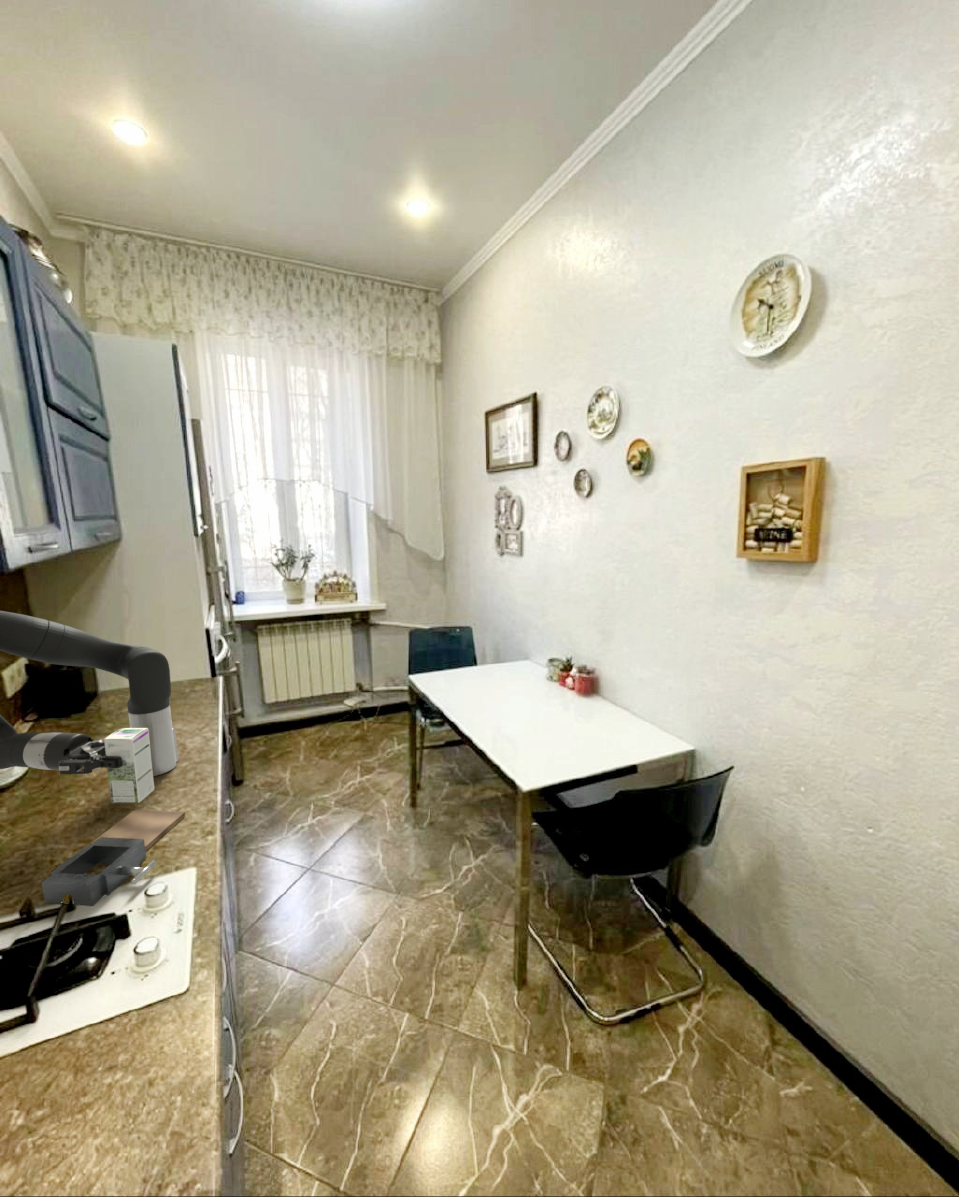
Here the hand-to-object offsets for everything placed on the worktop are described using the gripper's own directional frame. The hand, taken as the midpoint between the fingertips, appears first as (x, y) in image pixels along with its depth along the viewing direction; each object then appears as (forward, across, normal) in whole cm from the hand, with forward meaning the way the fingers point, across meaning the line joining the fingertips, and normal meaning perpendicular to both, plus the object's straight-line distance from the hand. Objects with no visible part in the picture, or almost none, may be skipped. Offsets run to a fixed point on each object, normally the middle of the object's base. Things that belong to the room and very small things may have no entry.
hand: (133, 754), depth 104 cm
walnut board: (-1, 0, +18) cm, 18 cm away
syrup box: (-1, 0, +10) cm, 10 cm away
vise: (+5, -14, +18) cm, 23 cm away
